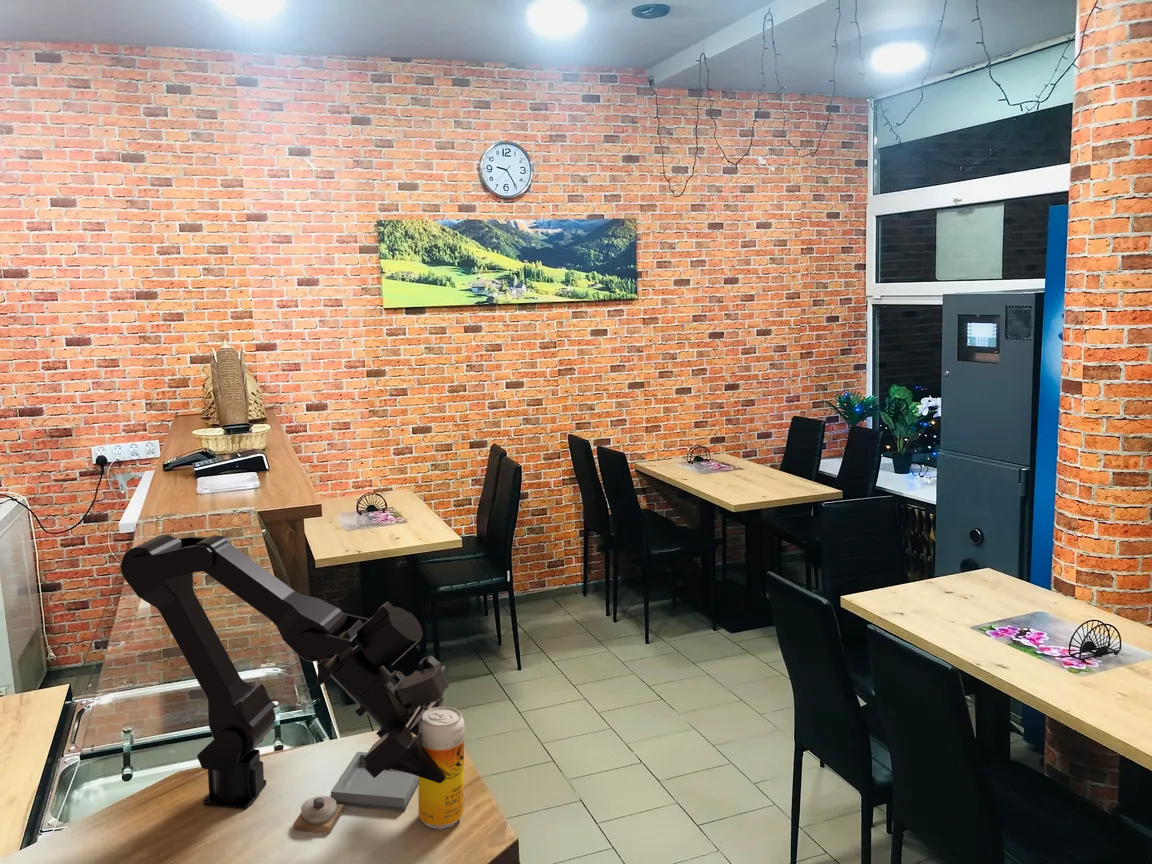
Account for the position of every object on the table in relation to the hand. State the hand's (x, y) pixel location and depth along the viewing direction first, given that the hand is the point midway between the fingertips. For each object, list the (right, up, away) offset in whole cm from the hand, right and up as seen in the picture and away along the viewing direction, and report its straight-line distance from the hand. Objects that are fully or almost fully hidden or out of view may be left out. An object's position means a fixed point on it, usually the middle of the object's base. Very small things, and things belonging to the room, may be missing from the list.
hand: (449, 768), depth 120 cm
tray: (-11, -6, +9) cm, 15 cm away
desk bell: (-18, -7, 0) cm, 19 cm away
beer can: (-1, -8, +2) cm, 8 cm away
